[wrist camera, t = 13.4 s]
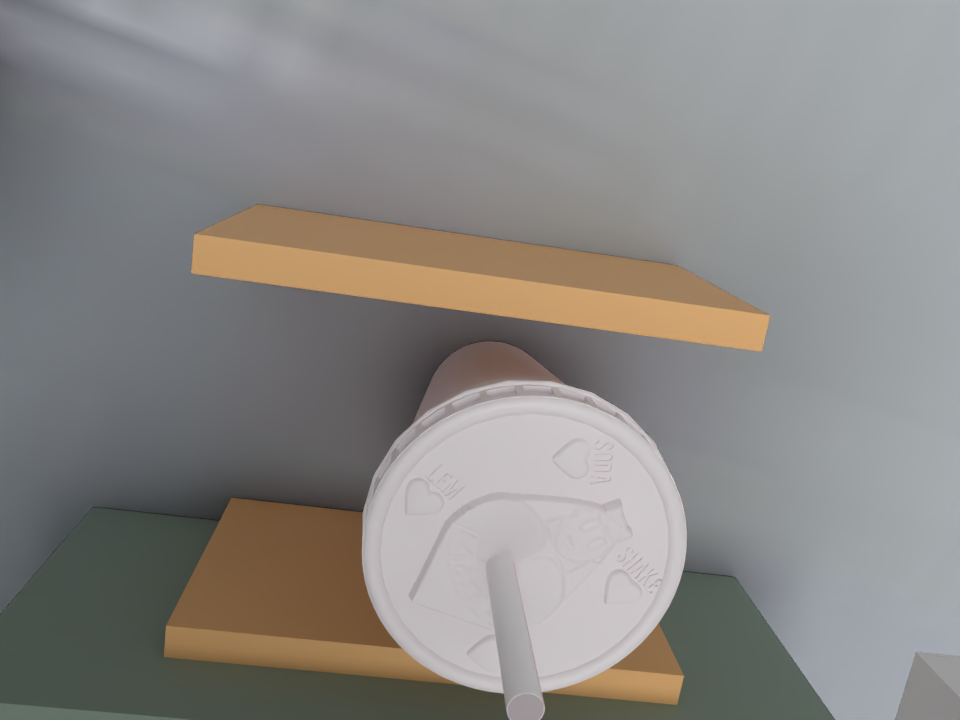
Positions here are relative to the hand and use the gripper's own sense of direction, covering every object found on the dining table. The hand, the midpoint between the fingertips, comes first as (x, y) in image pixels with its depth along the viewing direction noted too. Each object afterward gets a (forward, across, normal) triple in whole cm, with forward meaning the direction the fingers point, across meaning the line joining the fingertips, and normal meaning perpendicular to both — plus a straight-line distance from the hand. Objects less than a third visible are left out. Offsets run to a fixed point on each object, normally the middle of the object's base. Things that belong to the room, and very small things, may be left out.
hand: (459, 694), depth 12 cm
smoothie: (+14, -2, 0) cm, 14 cm away
